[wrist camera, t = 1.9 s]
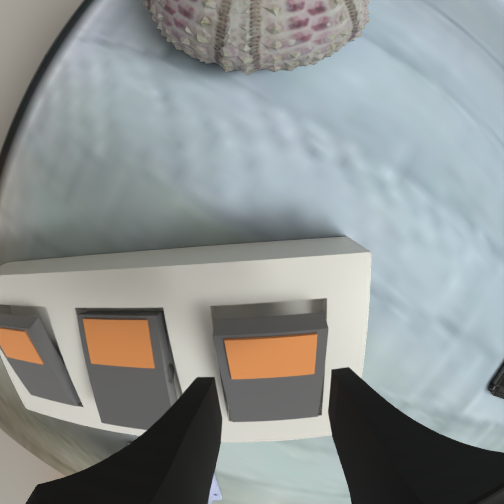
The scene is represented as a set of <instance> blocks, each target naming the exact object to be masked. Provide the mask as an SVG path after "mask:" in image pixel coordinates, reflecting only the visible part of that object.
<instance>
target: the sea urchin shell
mask: <svg viewBox="0 0 504 504" xmlns="http://www.w3.org/2000/svg"><path fill="white" fill-rule="evenodd" d="M368 2H369V0H144V2H143V4H142V5H144V6H145V7H147V8H148V12H149V13H151V14H152V21H153V22H155V23H157V29H160V30H161V36H164V37H166V39H167V42H171V43H173V45H174V46H175V48H176V49H177V50H183V51H184V52H185V53H186V54H188V55H189V56H190V57H192V58H197V59H199V60H200V61H201V62H205V63H206V64H208V63H213V62H214V63H217V64H218V65H220V66H221V67H222V68H223V69H224V71H225V72H227V71H228V72H229V71H233V70H240V71H243V72H244V73H245V74H246V75H249V74H251V73H252V72H254V71H256V70H259V69H267V70H270V71H273V72H276V71H279V70H287V71H292V70H293V69H295V68H296V67H297V66H307V65H308V64H312V65H315V64H316V63H317V61H320V60H323V59H324V57H331V55H332V54H333V53H334V52H338V50H339V49H340V48H341V47H342V46H345V45H346V43H347V42H350V41H354V40H355V37H361V36H362V33H361V30H362V29H364V28H365V24H366V23H368V22H369V18H368V16H367V15H368V14H369V11H368V9H367V4H368Z"/></svg>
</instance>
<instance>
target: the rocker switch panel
mask: <svg viewBox="0 0 504 504" xmlns="http://www.w3.org/2000/svg"><path fill="white" fill-rule="evenodd" d="M370 278H371V252H370V251H369V250H367V249H366V248H364V247H363V246H361V245H360V244H358V243H357V242H355V241H354V240H352V239H350V238H349V237H347V236H345V237H330V238H314V239H299V240H284V241H269V242H255V243H241V244H227V245H213V246H199V247H186V248H173V249H160V250H147V251H134V252H122V253H109V254H97V255H85V256H73V257H62V258H50V259H39V260H27V261H16V262H8V263H6V264H3V265H1V266H0V314H9V315H20V316H33V317H39V318H40V320H41V322H42V324H43V326H44V328H45V330H46V332H47V334H48V336H49V338H50V340H51V342H52V344H53V346H54V348H55V349H56V351H57V353H58V354H61V355H62V357H63V360H64V362H65V367H66V369H67V370H68V373H69V375H70V377H71V380H72V382H73V385H74V387H75V389H76V391H77V394H78V396H79V398H80V401H79V403H78V406H72V405H68V404H64V403H59V402H55V401H52V400H48V399H44V398H40V397H37V396H33V395H31V394H30V393H29V392H28V390H27V389H26V387H25V386H24V385H23V383H22V382H21V380H20V379H19V377H18V376H17V374H16V373H15V371H14V370H13V368H12V367H11V365H10V364H9V362H8V361H7V359H6V357H5V356H4V354H3V352H2V351H1V349H0V355H1V358H2V360H3V362H4V365H5V367H6V369H7V371H8V374H9V376H10V378H11V380H12V382H13V384H14V386H15V388H16V390H17V392H18V394H19V396H20V398H21V400H22V402H23V404H24V406H25V408H26V409H28V410H31V411H34V412H37V413H41V414H44V415H47V416H50V417H54V418H57V419H61V420H64V421H68V422H72V423H76V424H80V425H84V426H89V427H93V428H98V429H103V430H108V431H113V432H119V433H125V434H131V435H138V436H141V435H142V434H143V433H144V432H145V431H147V430H143V429H135V428H128V427H122V426H116V425H110V424H105V423H102V422H101V419H100V416H99V412H98V409H97V406H96V402H95V399H94V395H93V391H92V387H91V384H90V380H89V375H88V371H87V367H86V362H85V358H84V353H83V348H82V343H81V338H80V332H79V326H78V320H77V315H78V314H80V313H83V312H86V311H164V315H165V323H166V331H167V338H168V345H169V352H170V359H171V363H172V365H173V367H174V384H175V389H176V395H177V400H178V398H179V397H180V396H181V395H182V394H183V393H184V391H185V390H186V389H187V388H188V387H189V386H190V384H191V383H192V382H193V381H194V380H195V379H196V378H197V377H215V382H216V387H217V393H218V398H219V403H220V409H221V414H222V433H221V442H266V441H283V440H295V439H305V438H314V437H322V436H329V435H332V432H331V426H330V421H329V415H328V406H329V395H330V383H331V369H339V368H346V367H349V368H350V369H352V370H353V371H354V372H355V373H356V374H357V375H358V376H359V377H360V378H361V379H362V372H363V364H364V356H365V347H366V337H367V326H368V313H369V298H370ZM317 312H324V315H325V318H326V322H327V325H328V339H327V349H326V359H325V368H324V376H323V384H322V392H321V399H320V406H319V413H318V417H310V418H301V419H290V420H276V421H257V422H232V418H231V414H230V410H229V406H228V402H227V398H226V394H225V390H224V386H223V381H222V377H221V373H220V368H219V364H218V359H217V355H216V350H215V346H214V341H213V336H212V335H213V330H214V324H215V319H230V318H250V317H266V316H281V315H294V314H306V313H317Z"/></svg>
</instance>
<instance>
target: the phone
mask: <svg viewBox="0 0 504 504" xmlns="http://www.w3.org/2000/svg"><path fill="white" fill-rule="evenodd" d="M488 389H489V391H490V392H491V394H492V395H494V396H497V397H500V398H503V399H504V364H503V365H502V367H501V368H500V370H499V371H498V372H497V374H496V375H495V377H494V378H493V380H492V381H491V383H490V385H489V388H488Z"/></svg>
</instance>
